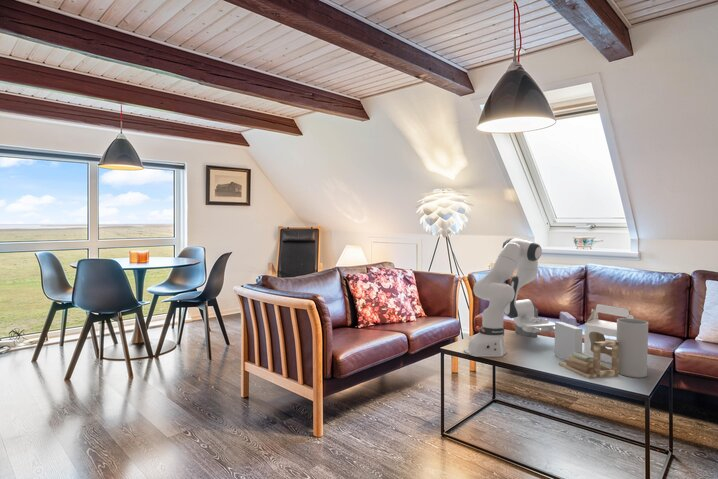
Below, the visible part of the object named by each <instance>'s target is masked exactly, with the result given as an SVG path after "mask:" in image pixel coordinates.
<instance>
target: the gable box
mask: <svg viewBox="0 0 718 479" xmlns="http://www.w3.org/2000/svg"><path fill="white" fill-rule="evenodd" d="M599 314H606V315H611V316H617V317H622V318H629V319H635V315H633V314H631V310H629V309H628V307H619V306H614V305H608V304H601V303H598V304H596V306H595V308H591V312H590V315H589V316H588V318H587V319H586V321H585V322H584V333H583V335H584V336H583V337H584V338H583V339H584V340H583V341H584V343H583V348H584V349H583V353H585V354H587V355H590V356H592V357H593V355H594V342H601V341H606V337H605V336H607V337H615V338H617V322H613V321H608V320H602V319H599ZM601 361H602V362H604V363H605V362H606V363H610V364H612V348H608V347H606V346H601V353H600V362H601Z"/></svg>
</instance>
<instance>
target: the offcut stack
mask: <svg viewBox="0 0 718 479" xmlns="http://www.w3.org/2000/svg"><path fill="white" fill-rule="evenodd" d="M566 365H567V366H570V367H572V368H574V369H576V370H578V371H580V372H582V373H585V374H591V373H594V368H593V357H592V356H590V355H587V354H585V353H584V352H583V351H582V352H572V355H569V360H567V363H566Z"/></svg>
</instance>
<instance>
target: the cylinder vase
mask: <svg viewBox="0 0 718 479" xmlns="http://www.w3.org/2000/svg"><path fill="white" fill-rule="evenodd" d="M616 323H617V337H616V341H619V371H618V375H621V376H625V377H628V378H636V379H639V378H640V379H641V378H642V379H643V378H646V377H647V375H648V351H649V346H648V345H649V343H648V342H649V321H646V320H642V319H639V318H638V319H637V318H634V319H629V318H627V317H622V318H621V317H620V318H617V319H616Z"/></svg>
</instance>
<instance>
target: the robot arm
mask: <svg viewBox="0 0 718 479" xmlns="http://www.w3.org/2000/svg"><path fill="white" fill-rule="evenodd" d="M542 250H543V249H542V247H541V245H540V244H539V243H537V242H534V241H529V240H525V239H521V238H514V237H510V238H507V239H505V240H504V242H503V244H502V249H501V251H500V253H499V255H498V256H497V258H496V261H495V263H494V264H493V266H492V268H491V269H490V271H489V272H488V273H487V274H486V275H485V276H484V277H482V278H481V279H479V280H478V281H476V282H475V283H474V285H473V288H472V291H473V294H474V296H475V297H478V298H479V299H481V300H485V301H488V302H489V304H488V306H487V308H485V309H483V311H482V325H481V326H479V325H476V327H475V329H476V330H477V331H479V332H478V333H477V334H475V335H474V336H473V337H472V338H470V339H469V341H468V344H467V347H465V348H463V351H464V353H465V354H467V355H470V356H473V357H477V358H481V357H483V358H486V357H488V358H489V357H490V358H491V357H493V358H496V357H498V358H499V357H504V355H506V354H507V350H506V347H505V340H504V338H505V337H504V336H505V327H504V319H505V318H504V317H505V316H507V317H508V318H509V319H513V321H514V325H515V324H516V325H517V326H519V327H521V328H522V329H523V330H524V331H526V332H533V333H537V334H538V333H542V332H555V322H553V321H551V320H549V319H547V318H540V317H539V318H535V313H536V309H537V308H536V304H535V303H534V302H533V301H532V300H531V299H527V298H526V299H519V300H517V298H518V294H519V290H520V289H522V287H523V286H525V285H527V284H529V283H532V282H533V281H534V280H535V279H536V277H537V275H538V271H539V270H538V268H539V267H538V266H539V262H538V261H539V259H540V258H541V255H542V252H543V251H542ZM516 268H517V269H516ZM515 271H516V272H515ZM514 273H515V274H514ZM509 279H510V283H509V284H508V283H505V282H506V281H508V280H509Z"/></svg>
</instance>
